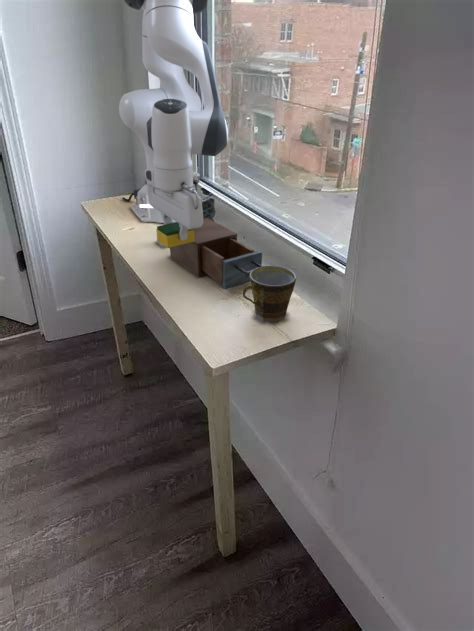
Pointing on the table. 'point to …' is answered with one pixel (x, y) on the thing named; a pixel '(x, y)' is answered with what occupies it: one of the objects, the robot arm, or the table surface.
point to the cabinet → (204, 235)
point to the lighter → (158, 241)
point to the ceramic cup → (271, 292)
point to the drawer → (229, 262)
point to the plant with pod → (205, 200)
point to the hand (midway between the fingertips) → (175, 234)
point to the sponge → (172, 235)
